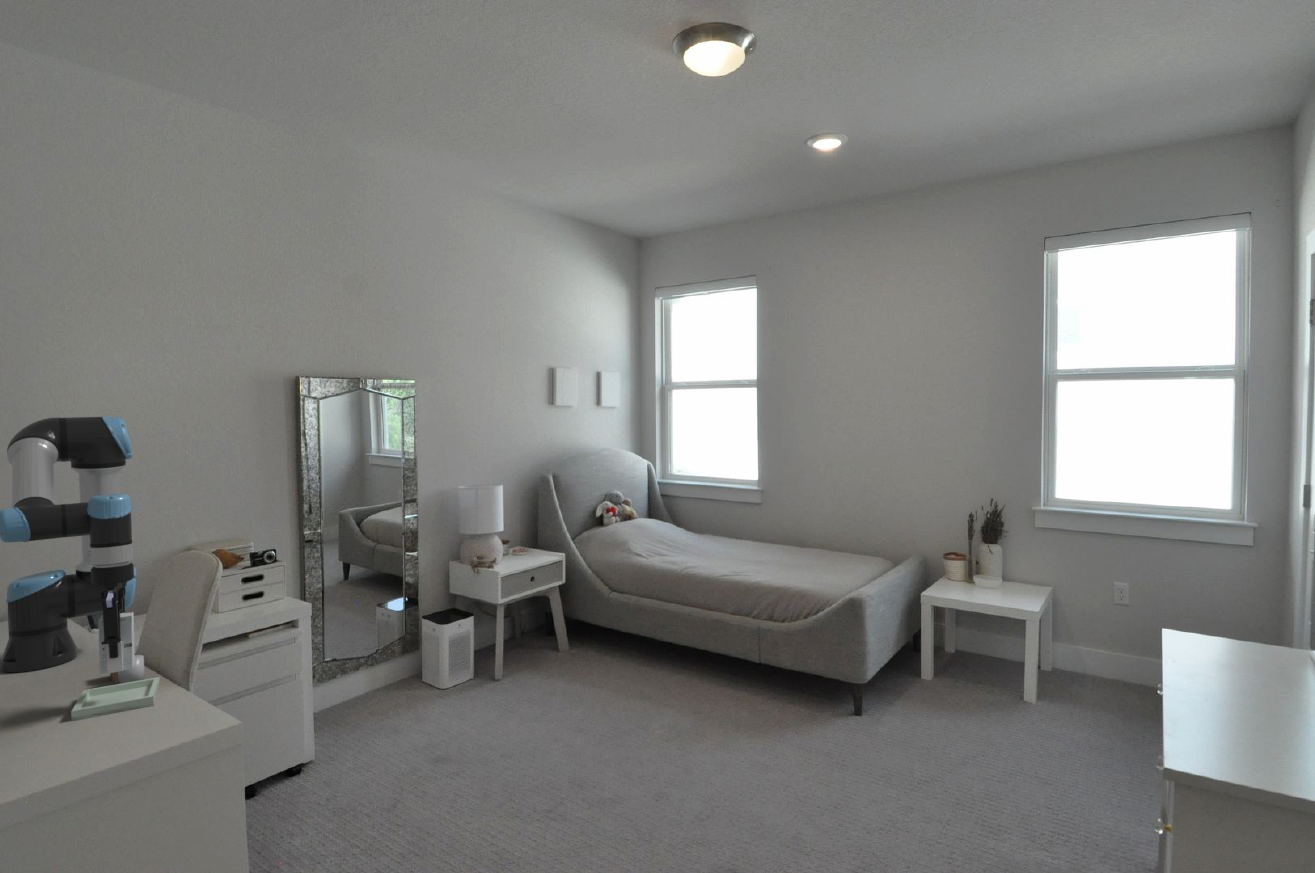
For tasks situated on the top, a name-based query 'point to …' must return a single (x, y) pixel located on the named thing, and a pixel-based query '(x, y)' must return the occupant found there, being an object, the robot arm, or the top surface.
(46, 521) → the robot arm
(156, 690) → the sage dish
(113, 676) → the walnut block
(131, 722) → the top surface
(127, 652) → the skincare box
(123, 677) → the grey smooth rounded part
